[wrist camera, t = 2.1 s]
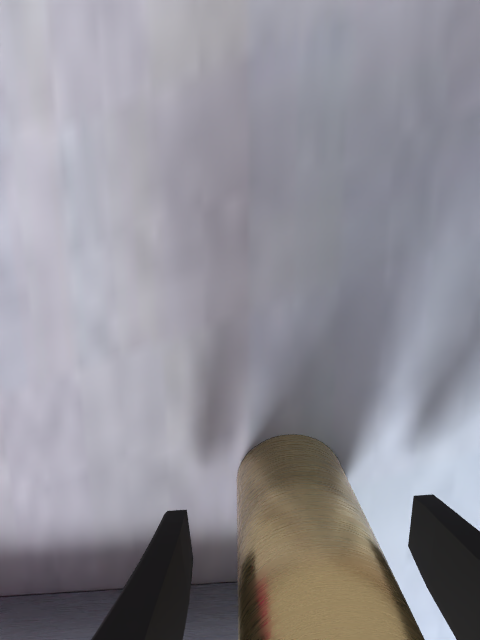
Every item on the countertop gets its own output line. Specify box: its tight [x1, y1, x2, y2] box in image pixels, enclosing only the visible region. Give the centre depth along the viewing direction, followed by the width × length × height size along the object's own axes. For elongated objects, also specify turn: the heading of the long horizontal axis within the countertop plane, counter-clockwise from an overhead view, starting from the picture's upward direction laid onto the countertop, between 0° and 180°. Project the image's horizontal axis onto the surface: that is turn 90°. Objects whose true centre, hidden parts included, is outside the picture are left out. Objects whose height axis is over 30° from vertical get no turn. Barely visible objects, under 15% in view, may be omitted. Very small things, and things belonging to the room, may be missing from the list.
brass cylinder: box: [237, 435, 425, 640], centre depth 8 cm, size 4×4×7 cm
